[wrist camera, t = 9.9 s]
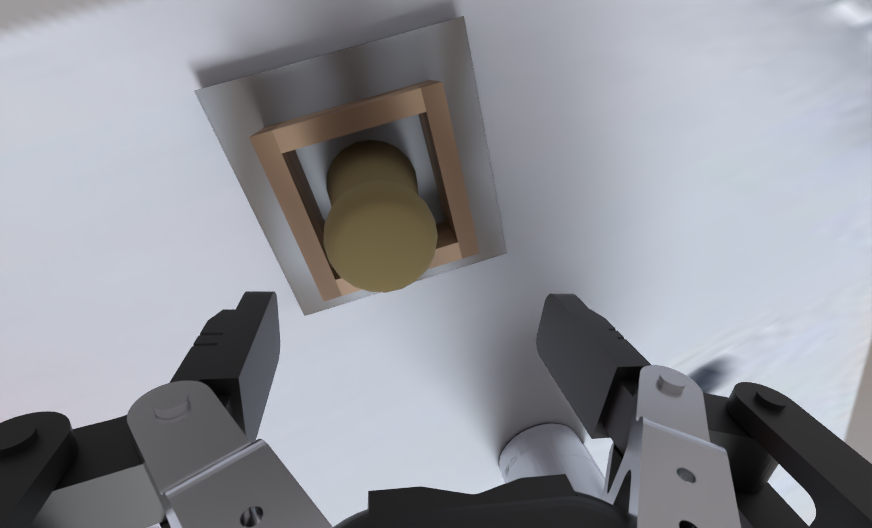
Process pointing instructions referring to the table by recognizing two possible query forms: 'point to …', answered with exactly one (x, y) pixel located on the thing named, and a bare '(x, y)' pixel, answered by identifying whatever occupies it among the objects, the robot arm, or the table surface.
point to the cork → (377, 218)
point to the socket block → (353, 122)
